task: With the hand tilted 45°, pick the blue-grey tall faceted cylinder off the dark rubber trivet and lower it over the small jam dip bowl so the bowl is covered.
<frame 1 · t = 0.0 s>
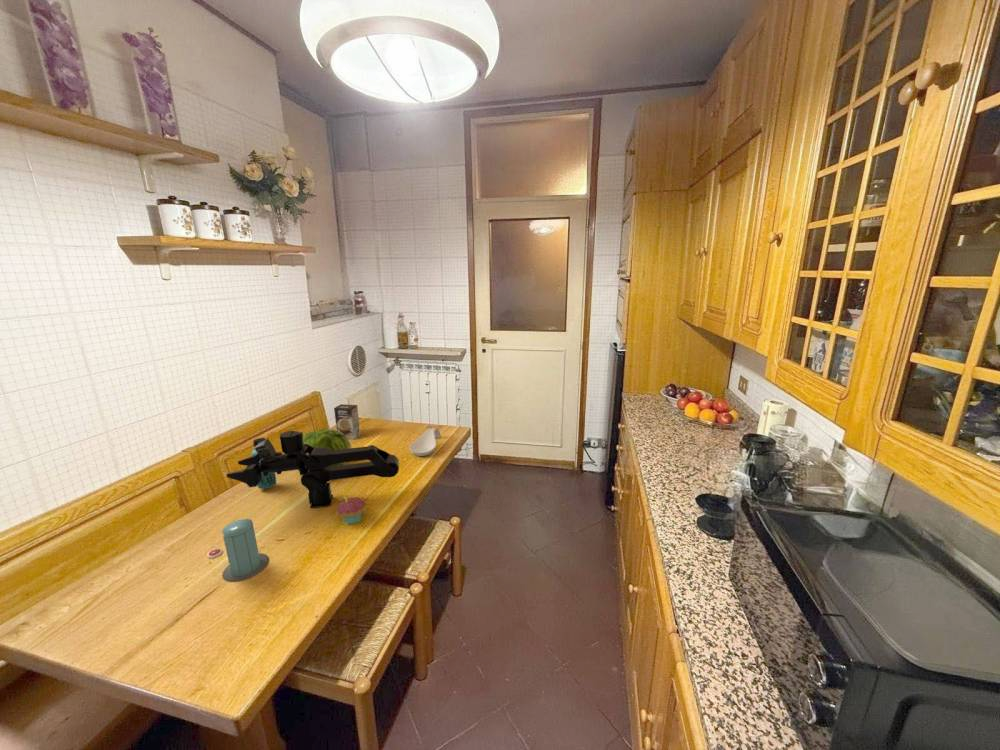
hand: (232, 468, 131), 17 cm above the table, tool horizontal, fingers open, 9 cm apart
spoon rest: (428, 448, 183), on the table
cupcake: (353, 520, 130), on the table
lettuce: (326, 469, 166), on the table
trivet: (246, 568, 109), on the table
beverage bottle: (268, 488, 151), on the table
blue-grey tall faceted cylinder: (246, 566, 109), resting on trivet
dip bowl: (215, 555, 115), on the table
coffee box: (349, 437, 198), on the table
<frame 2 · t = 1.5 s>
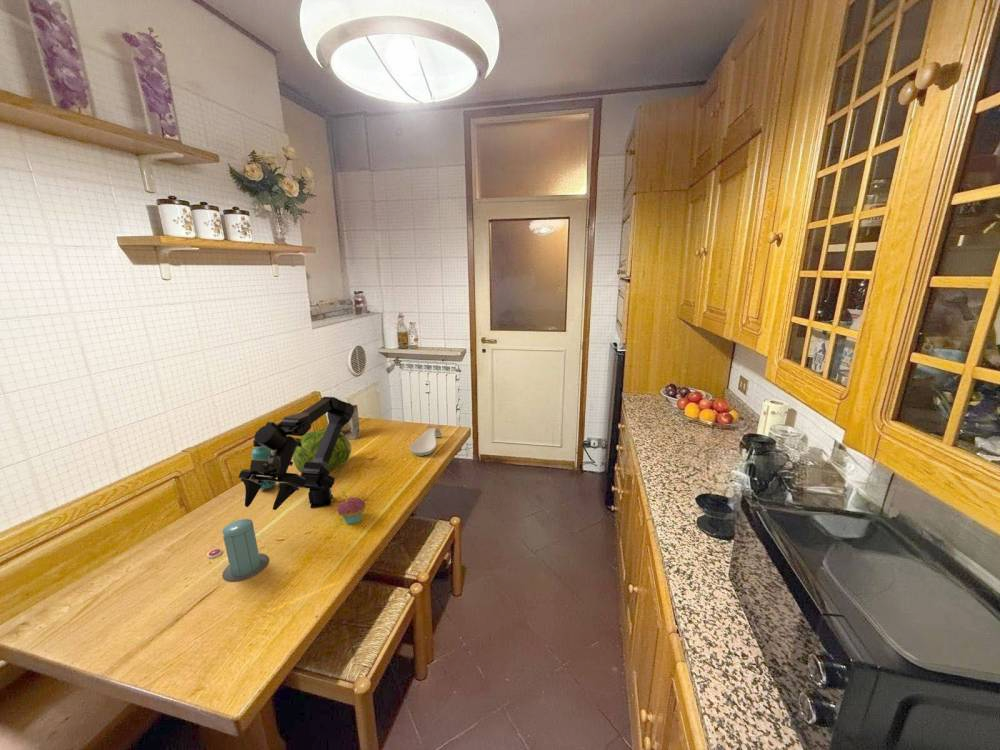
hand: (260, 508, 113), 14 cm above the table, tool tilted 45°, fingers open, 9 cm apart
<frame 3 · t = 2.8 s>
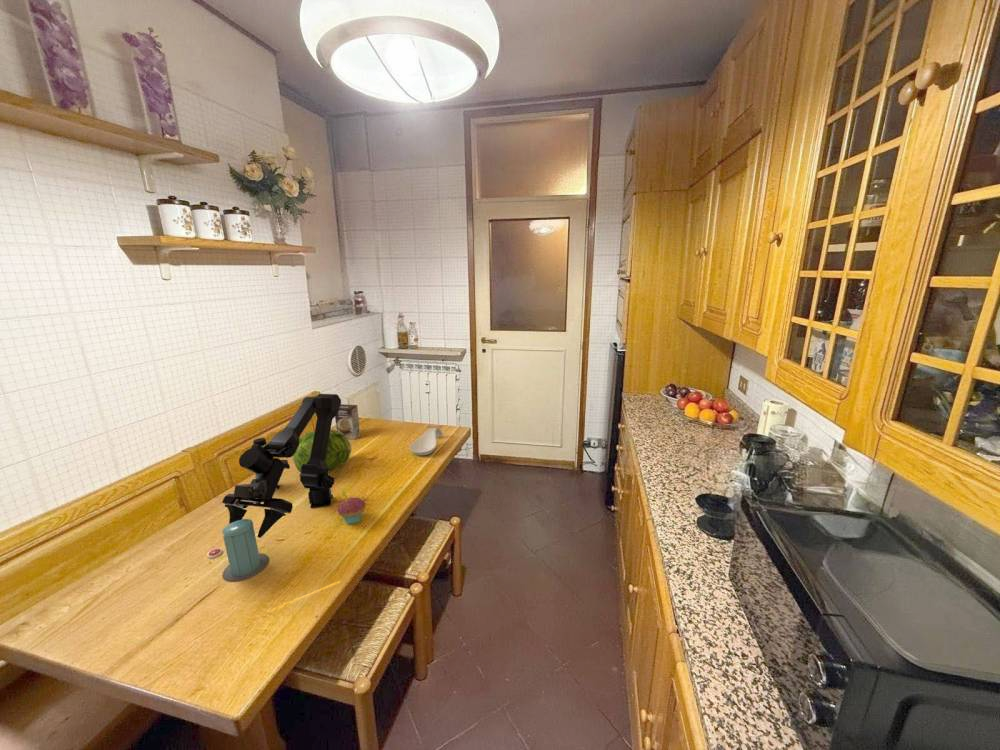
hand: (244, 535, 108), 9 cm above the table, tool tilted 45°, fingers open, 9 cm apart
nothing on the table moved.
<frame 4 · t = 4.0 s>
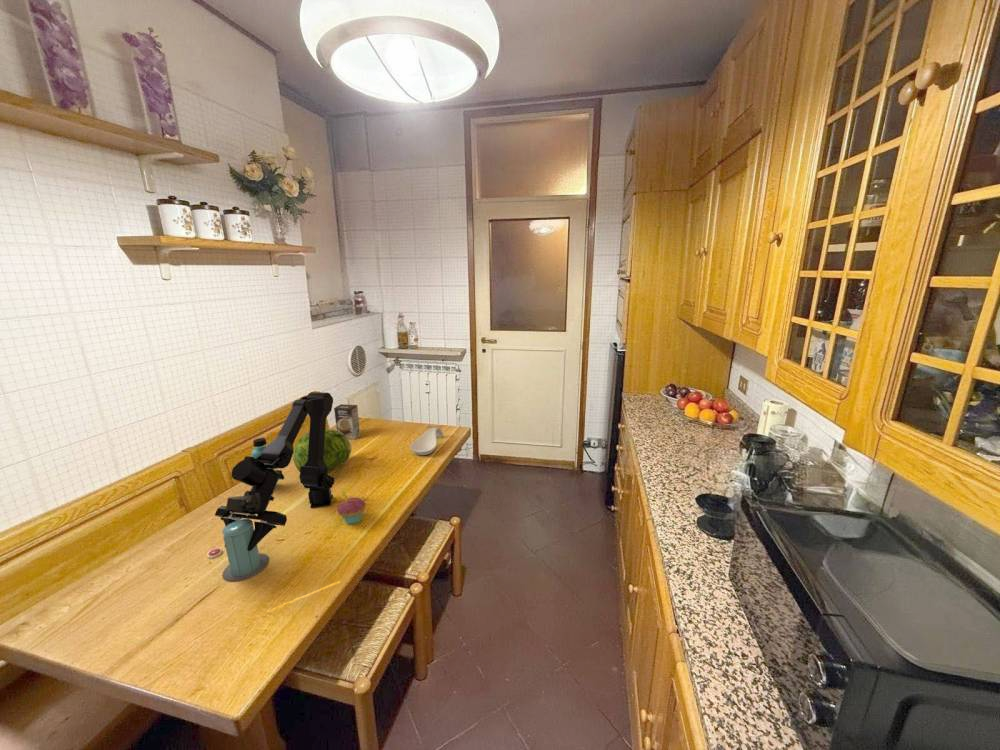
hand: (237, 549, 106), 7 cm above the table, tool tilted 45°, fingers closed on blue-grey tall faceted cylinder, 7 cm apart
blue-grey tall faceted cylinder: (246, 566, 109), resting on trivet, touching gripper
everything else where it was.
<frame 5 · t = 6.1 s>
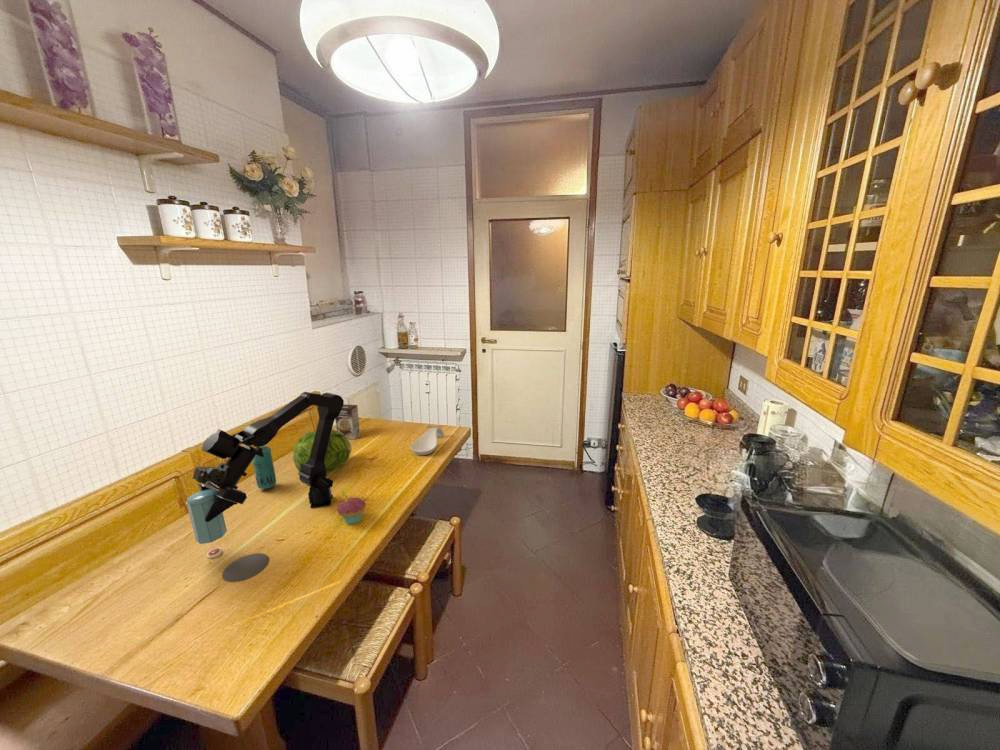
hand: (201, 517, 110), 13 cm above the table, tool tilted 45°, fingers closed on blue-grey tall faceted cylinder, 7 cm apart
blue-grey tall faceted cylinder: (211, 535, 113), point 7 cm above the table, touching gripper
when the fingers open (8 cm above the table, at t = 8.0 s): blue-grey tall faceted cylinder drops 1 cm, on the table.
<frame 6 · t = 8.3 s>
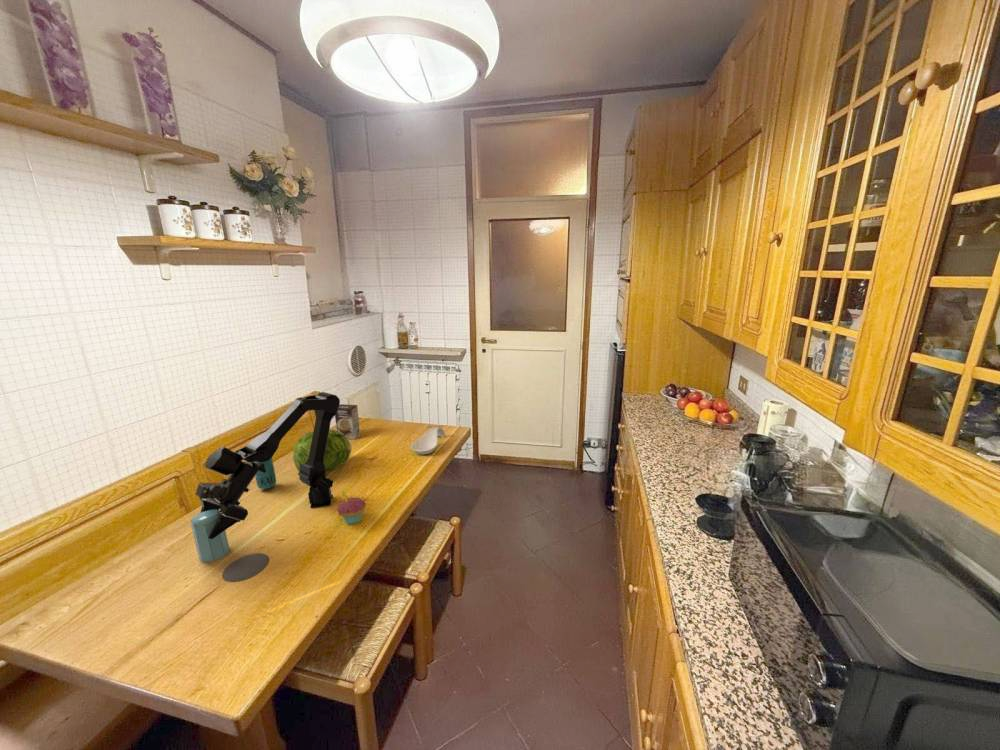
hand: (203, 532, 112), 8 cm above the table, tool tilted 45°, fingers open, 9 cm apart
blue-grey tall faceted cylinder: (214, 554, 115), on the table
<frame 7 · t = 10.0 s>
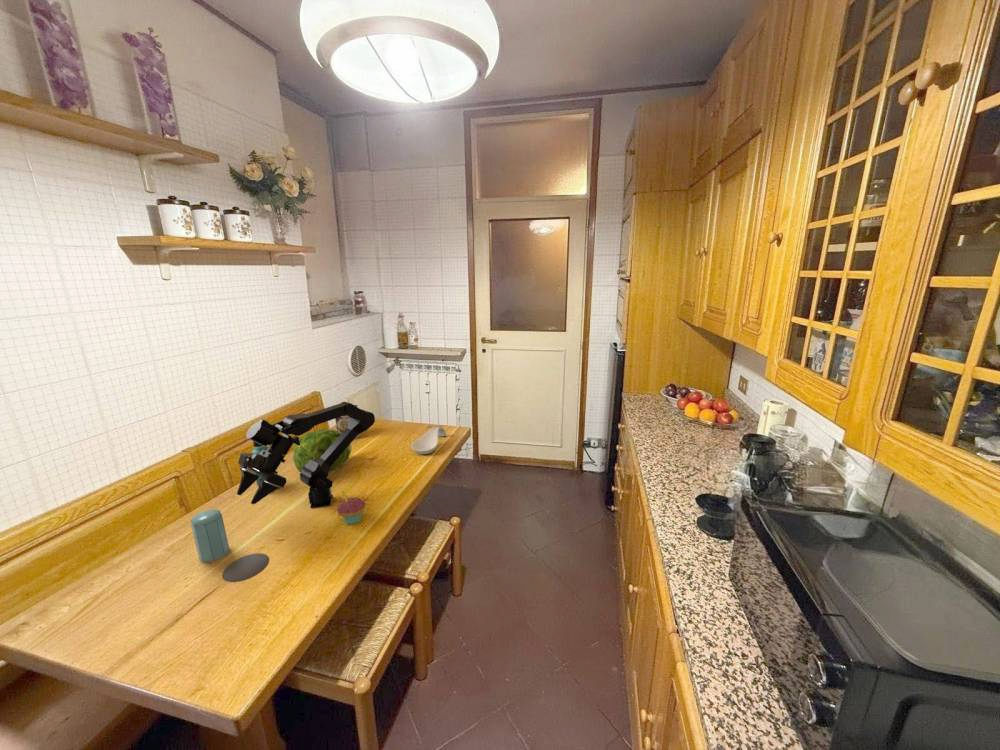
hand: (245, 499, 120), 13 cm above the table, tool tilted 45°, fingers open, 9 cm apart
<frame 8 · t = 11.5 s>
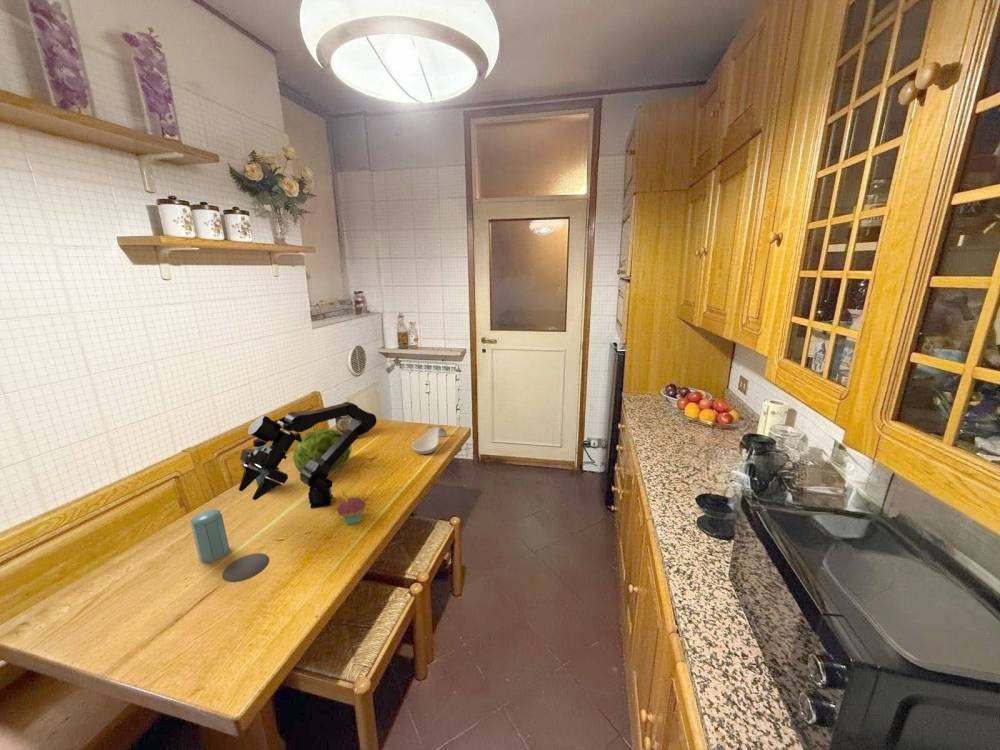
hand: (246, 495, 120), 14 cm above the table, tool tilted 45°, fingers open, 9 cm apart
at the end: blue-grey tall faceted cylinder 0.1 cm from the dip bowl (horizontally); blue-grey tall faceted cylinder on the table; blue-grey tall faceted cylinder tilted 0° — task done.
